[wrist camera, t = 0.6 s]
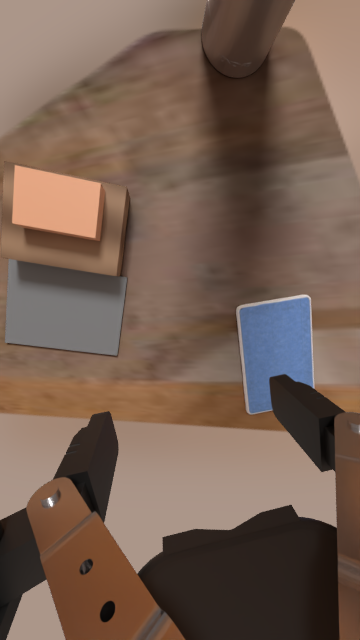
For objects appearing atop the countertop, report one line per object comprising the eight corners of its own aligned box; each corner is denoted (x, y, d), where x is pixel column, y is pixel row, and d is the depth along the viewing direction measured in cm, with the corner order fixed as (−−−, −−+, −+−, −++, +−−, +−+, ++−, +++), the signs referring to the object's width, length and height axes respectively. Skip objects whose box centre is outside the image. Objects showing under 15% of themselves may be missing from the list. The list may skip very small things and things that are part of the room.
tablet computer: (311, 399, 43) (316, 403, 42) (244, 413, 42) (247, 417, 41) (306, 293, 39) (312, 293, 38) (233, 305, 38) (236, 306, 37)
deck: (22, 175, 31) (4, 160, 28) (129, 197, 33) (126, 186, 29) (18, 259, 33) (0, 257, 29) (120, 276, 35) (116, 276, 31)
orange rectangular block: (26, 174, 28) (14, 165, 26) (105, 191, 29) (100, 183, 27) (23, 227, 29) (12, 223, 27) (100, 241, 30) (95, 238, 28)
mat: (10, 258, 33) (8, 258, 33) (127, 277, 35) (127, 277, 35) (6, 341, 35) (4, 342, 35) (117, 354, 37) (117, 355, 37)
